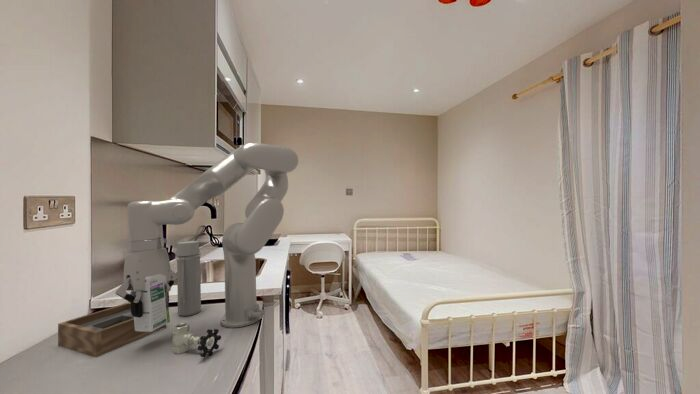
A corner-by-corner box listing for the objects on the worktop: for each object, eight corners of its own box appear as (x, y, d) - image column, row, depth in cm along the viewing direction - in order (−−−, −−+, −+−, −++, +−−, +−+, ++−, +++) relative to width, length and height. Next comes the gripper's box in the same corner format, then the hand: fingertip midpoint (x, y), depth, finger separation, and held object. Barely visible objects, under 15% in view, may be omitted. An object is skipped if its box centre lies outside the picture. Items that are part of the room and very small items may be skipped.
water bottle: (182, 309, 102) (181, 241, 102) (205, 308, 103) (204, 240, 103) (169, 320, 93) (168, 244, 93) (194, 318, 94) (193, 243, 94)
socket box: (166, 327, 87) (165, 307, 87) (95, 357, 71) (95, 333, 71) (130, 319, 94) (129, 301, 94) (58, 345, 77) (58, 323, 78)
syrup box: (152, 332, 73) (148, 277, 73) (133, 331, 74) (129, 277, 74) (170, 322, 78) (166, 271, 78) (152, 321, 80) (149, 271, 80)
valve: (163, 356, 70) (200, 363, 66) (163, 329, 70) (200, 335, 67) (186, 343, 77) (221, 349, 73) (186, 319, 77) (221, 324, 73)
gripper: (168, 240, 86) (172, 298, 86) (101, 252, 70) (105, 323, 70) (185, 240, 83) (189, 300, 83) (119, 252, 67) (124, 327, 67)
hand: (151, 310), depth 76 cm, fingers closed on syrup box, 6 cm apart
